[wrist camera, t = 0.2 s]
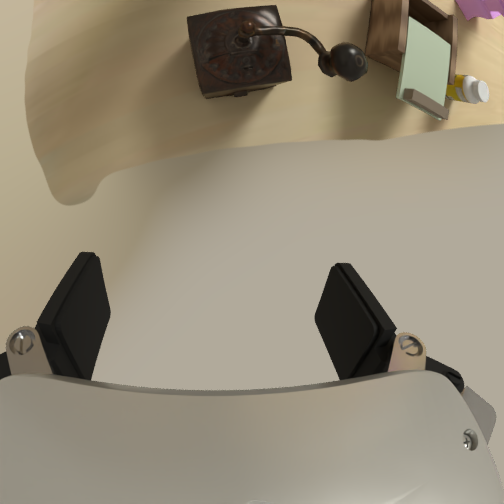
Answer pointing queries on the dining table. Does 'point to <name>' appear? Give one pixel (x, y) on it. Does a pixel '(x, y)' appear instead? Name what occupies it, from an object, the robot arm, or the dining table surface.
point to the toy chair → (481, 8)
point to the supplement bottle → (467, 90)
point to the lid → (424, 70)
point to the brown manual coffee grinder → (257, 51)
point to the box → (395, 30)
